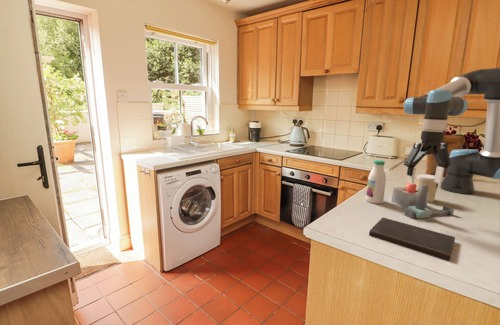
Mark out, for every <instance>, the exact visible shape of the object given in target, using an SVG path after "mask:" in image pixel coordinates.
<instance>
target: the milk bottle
mask: <svg viewBox="0 0 500 325" xmlns="http://www.w3.org/2000/svg"><path fill="white" fill-rule="evenodd" d="M385 163H386V162H385V160H381V159H373V167H372V170H371V171H370V172H369V174H368V177H367V186H366V193H365V200H366V202H368V203H371V204H377V205H378V204H382V203H383V202H384V197H385V190H386V183H387V182H386V181H387V176H386V173H385V169H384V168H385Z"/></svg>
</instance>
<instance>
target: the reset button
mask: <svg viewBox="0 0 500 325" xmlns="http://www.w3.org/2000/svg"><path fill="white" fill-rule="evenodd" d="M416 186H417V185H416V183H414V184H409V183H407V182H406V185H405V187H406V191H408V192H410V193H412V192H416Z"/></svg>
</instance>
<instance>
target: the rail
mask: <svg viewBox="0 0 500 325" xmlns="http://www.w3.org/2000/svg"><path fill="white" fill-rule="evenodd" d="M431 211H432V214H430V216H429V217H437V216H452V217H453V216H454V212H455V208H452V207H450V206H447V205H442V209H438V210H436V209H434V210H431ZM403 216H405V217H407V218H408V219H411V220H414V219H415V218H416V213H415V211H412V210H410V209H408V208H404V214H403Z"/></svg>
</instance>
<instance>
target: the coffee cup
mask: <svg viewBox="0 0 500 325" xmlns="http://www.w3.org/2000/svg"><path fill="white" fill-rule="evenodd" d="M434 179H435V175H429V174H426V173H420V174H417V175H416V183H415V184H416V185H417V186H416V189H418V190H419V185H420V184H422V185H427V186H429V187H428V193H429V196H428V201H427V203H433V202H434V201H435V197H436V195H437V194H436V193H437V190H438V187H439V183H437V182H434Z"/></svg>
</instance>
